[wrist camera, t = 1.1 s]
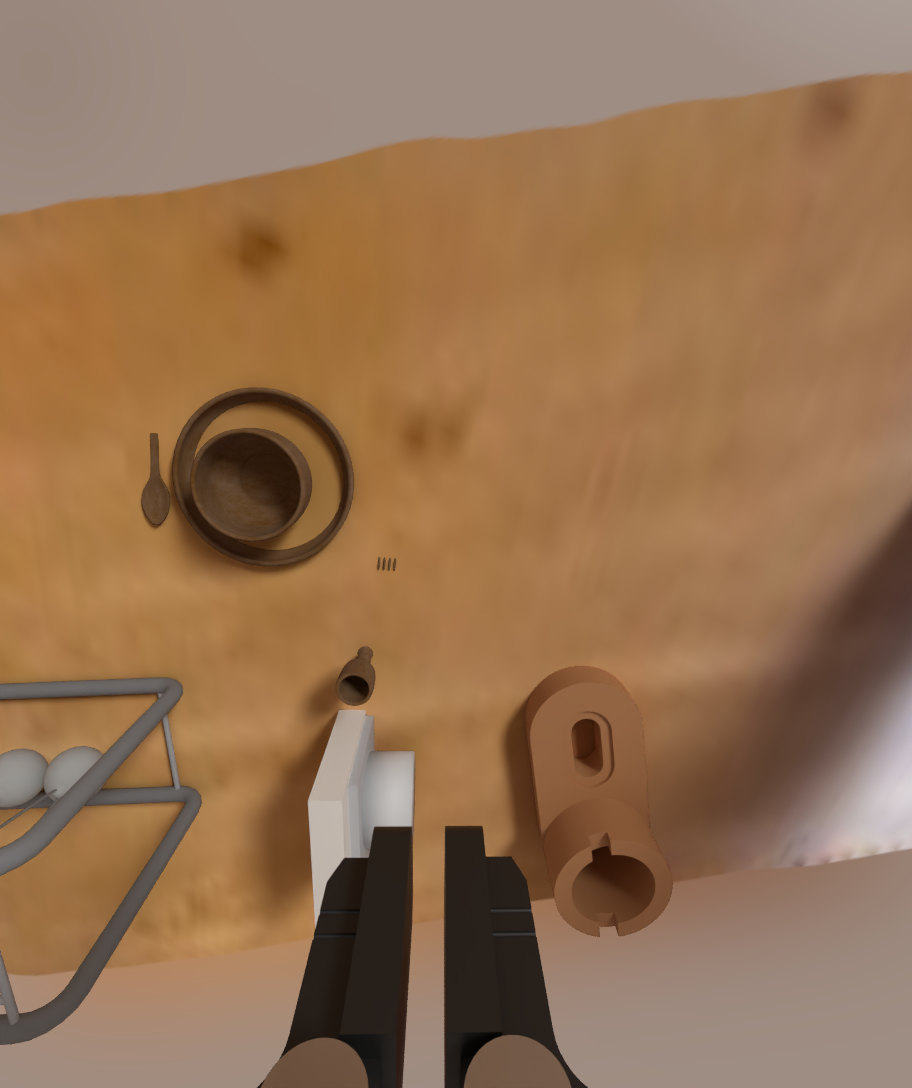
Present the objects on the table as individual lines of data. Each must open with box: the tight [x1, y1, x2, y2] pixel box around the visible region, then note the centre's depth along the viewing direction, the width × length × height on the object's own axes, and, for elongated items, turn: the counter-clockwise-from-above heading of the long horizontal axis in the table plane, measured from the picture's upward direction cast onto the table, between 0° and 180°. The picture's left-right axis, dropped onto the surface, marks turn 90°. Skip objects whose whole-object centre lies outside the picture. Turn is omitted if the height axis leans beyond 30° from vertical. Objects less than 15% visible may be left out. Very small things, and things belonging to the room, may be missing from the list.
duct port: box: [308, 710, 415, 928], centre depth 38 cm, size 6×10×10 cm, turn 179°
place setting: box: [142, 388, 396, 706], centre depth 36 cm, size 18×20×6 cm
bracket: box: [525, 666, 673, 937], centre depth 40 cm, size 18×8×7 cm, turn 8°
